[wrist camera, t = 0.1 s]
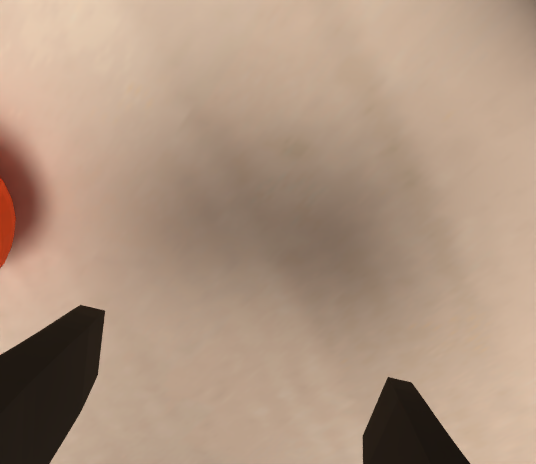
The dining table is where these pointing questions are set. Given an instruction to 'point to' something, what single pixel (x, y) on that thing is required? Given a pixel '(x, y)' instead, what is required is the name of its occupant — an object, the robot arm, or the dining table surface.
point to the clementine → (6, 222)
